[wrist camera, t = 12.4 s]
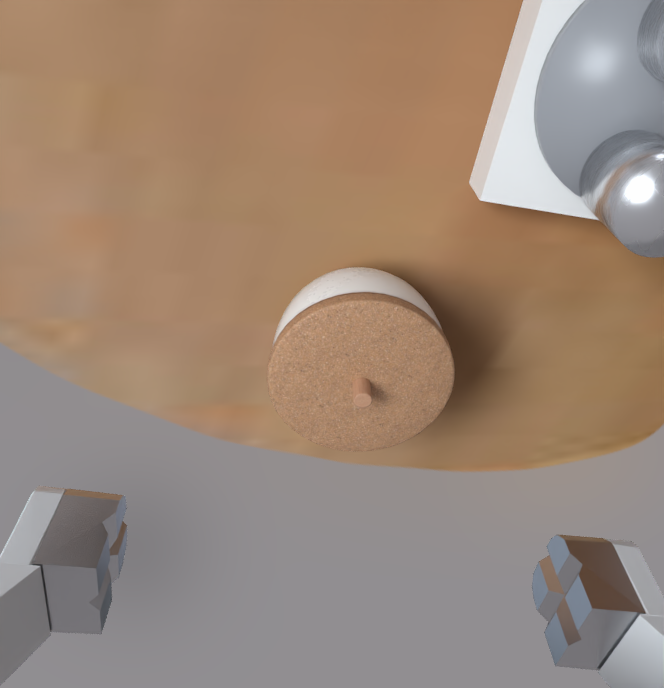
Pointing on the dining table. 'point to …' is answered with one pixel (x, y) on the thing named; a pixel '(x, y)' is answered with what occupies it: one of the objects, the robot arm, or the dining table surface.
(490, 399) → the dining table surface
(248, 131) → the dining table surface
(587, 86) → the kitchen scale
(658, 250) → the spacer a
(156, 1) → the dining table surface
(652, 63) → the silver ball
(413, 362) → the lidded jar
